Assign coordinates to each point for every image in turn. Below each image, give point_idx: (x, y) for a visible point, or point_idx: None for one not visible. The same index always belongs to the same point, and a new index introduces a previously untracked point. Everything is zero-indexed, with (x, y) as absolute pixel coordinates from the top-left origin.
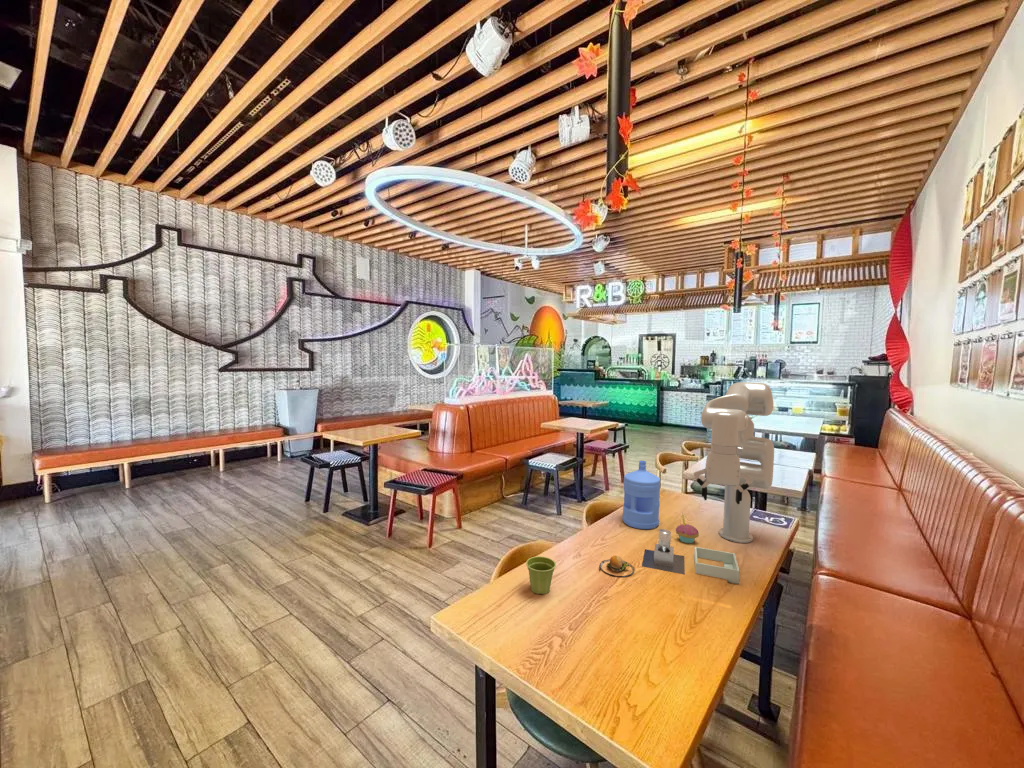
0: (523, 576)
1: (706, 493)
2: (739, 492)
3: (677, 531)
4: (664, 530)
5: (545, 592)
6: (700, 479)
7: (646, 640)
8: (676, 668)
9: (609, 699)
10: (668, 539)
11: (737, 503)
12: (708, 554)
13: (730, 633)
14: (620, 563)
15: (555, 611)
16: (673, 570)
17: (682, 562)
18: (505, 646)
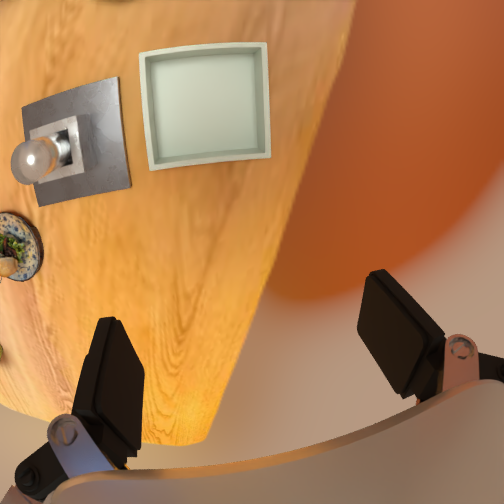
0: None
1: (138, 416)
2: (408, 394)
3: None
4: (23, 153)
5: (2, 352)
6: (50, 490)
7: None
8: (180, 399)
9: (144, 431)
10: (49, 170)
11: (360, 328)
12: (185, 53)
13: (235, 329)
14: (13, 270)
15: (34, 373)
16: (101, 182)
17: (115, 120)
18: (49, 415)
